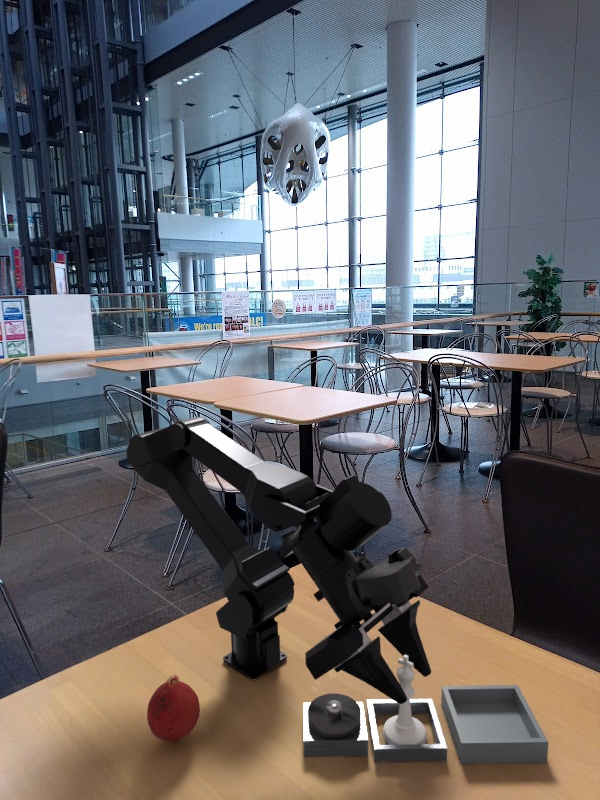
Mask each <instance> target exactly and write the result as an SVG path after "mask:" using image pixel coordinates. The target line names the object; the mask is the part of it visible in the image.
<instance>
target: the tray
mask: <svg viewBox="0 0 600 800" xmlns="http://www.w3.org/2000/svg"><path fill="white" fill-rule="evenodd" d="M440 699H441V700H440V701H441V703H440V705H441V708H442V711H443V714H444V717H445V720H446V723H447V726H448V728H449V731H450V736H451V738H452V741H453V744H454V748H455V750H456V754H457V756H458V759H459V763H460V764H462V765H463V764H466V765H467V764H469V765H470V764H471V765H472V764H520V763H521V764H526V763H529V764H530V763H538V764H539V763H548V756H549V755H548V753H549V741H548V739H547V737H546V735H545V733H544V731H543V729H542V728H541V726H540V724H539V722H538V720H537V717H536V716H535V715H534V713H533V711H532V709H531V707H530V705H529V703H528V701H527V700H526V697H525V696H524V694H523V691H522V690H521V688H520V686H519V685H518V684H509V685H508V684H503V685H501V684H497V685H495V684H494V685H493V684H492V685H489V684H488V685H486V684H485V685H441V698H440Z"/></svg>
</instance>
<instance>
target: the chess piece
mask: <svg viewBox="0 0 600 800" xmlns="http://www.w3.org/2000/svg"><path fill="white" fill-rule="evenodd" d="M408 657H409V656H407V655H404V656H402V657H399V658H398V659H397V664H399V665H402V666H400V667H398V668H397V669H396V676H397V677H396V678H397V680H398V682H399V684H400V685H401V687H402V689H403V691H404V693H405V695H406V696H407V701H406V702H405V703H403V704H400V707H399V713H398V715H394V716H393V715H392V717H389V718H388V719H387V720H386V721H385V723H384V724H383V729H382V736H383V739H384V740H385V742H386V743H387V745H413V744H426V743H427V739H428V738H427V737H428V736H427V731H426V730H427V729H426V727H425V725H424V724H423V723H422V722H421V721H420V720H419V719H417V718H416V717H413V716H412V715H413V714H411V706H410V699H413V698H414V696H415V695H416V691H415V688H414V687H413V686H412V683H413V680H414V679H415V674H416V673H415V670H414V669H413V668H414V667H413V666H414V663H412V662H410V661H408Z"/></svg>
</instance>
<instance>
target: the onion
mask: <svg viewBox="0 0 600 800" xmlns="http://www.w3.org/2000/svg"><path fill="white" fill-rule="evenodd" d="M179 679H180V678H179V676H178V675H176V674H171V675H170V676H169V677H168V678H167V680H166V682H163V683H162V684H160V685H159V686H158V687H157V688H156V690H155V691H154V692H153V694H152V695H151V697H150V699H149V701H148V704H147V711H146V720H147V724H148V727H149V729H150V731H151V733H152V734H153V735H154V737H156V738H157V739H159V740H161V741H164V742H169V743H171V742H172V743H174V742H178V741H180V740H183V738H185V737H187V736H188V735H189V734H190V733H191V732H192V731H193V730H194V728H195V727H196V725H197V723H198V721H199V718H200V715H201V707H200V700H199V695H197V693H196V691H195V690H194V689H193V688H192V687H191V686H190V685H189V684H187V683H185V682H183V681H180V680H179Z"/></svg>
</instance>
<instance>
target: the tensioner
mask: <svg viewBox="0 0 600 800" xmlns="http://www.w3.org/2000/svg"><path fill="white" fill-rule="evenodd" d="M410 706H411V715H427V717H428V720H429V724H430V727H431V730H432V734H433V737H434V740H435V743H433V744H432V743H427V744H426V743H425V744H413V745H389V744H380V740H379V734H378V729H377V727H378V726H377V723H376V716H383V715H384V716H391V715H392V716H393V715H394V716H397V715H398V713H399V707H400V704H399V703H397V702H396V701H394V700H392V699H391V698H389V699H386V698H385V699H384V698H383V699H382V698H381V699H366V714H367V722H368V728H369V729H368V730H369V733H370V740H371V747H372V749H371V750H372V754H373V759H374V760H373V762H374V763H403V762H404V763H405V762H406V763H408V762H411V763H413V762H414V763H415V762H416V763H417V762H419V763H420V762H427V763H428V762H447V761H448V745H447V742H446V740H445V736H444V733H443V730H442V727H441V723H440V721H439V717H438V713H437V710H436V708H435V705H434V701H433V699H432V698H410ZM368 730H367V725H366V716H365V709H364V702H363V701H356V700H354V698H352V697H350V696H349V695H345V694H343V693H325V694H322V695H319V696H317V697H315V698H314V699H312V701H311V702H303V757H304V758H307V757H308V758H309V757H315V758H317V757H322V758H323V757H369V737H368Z"/></svg>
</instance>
